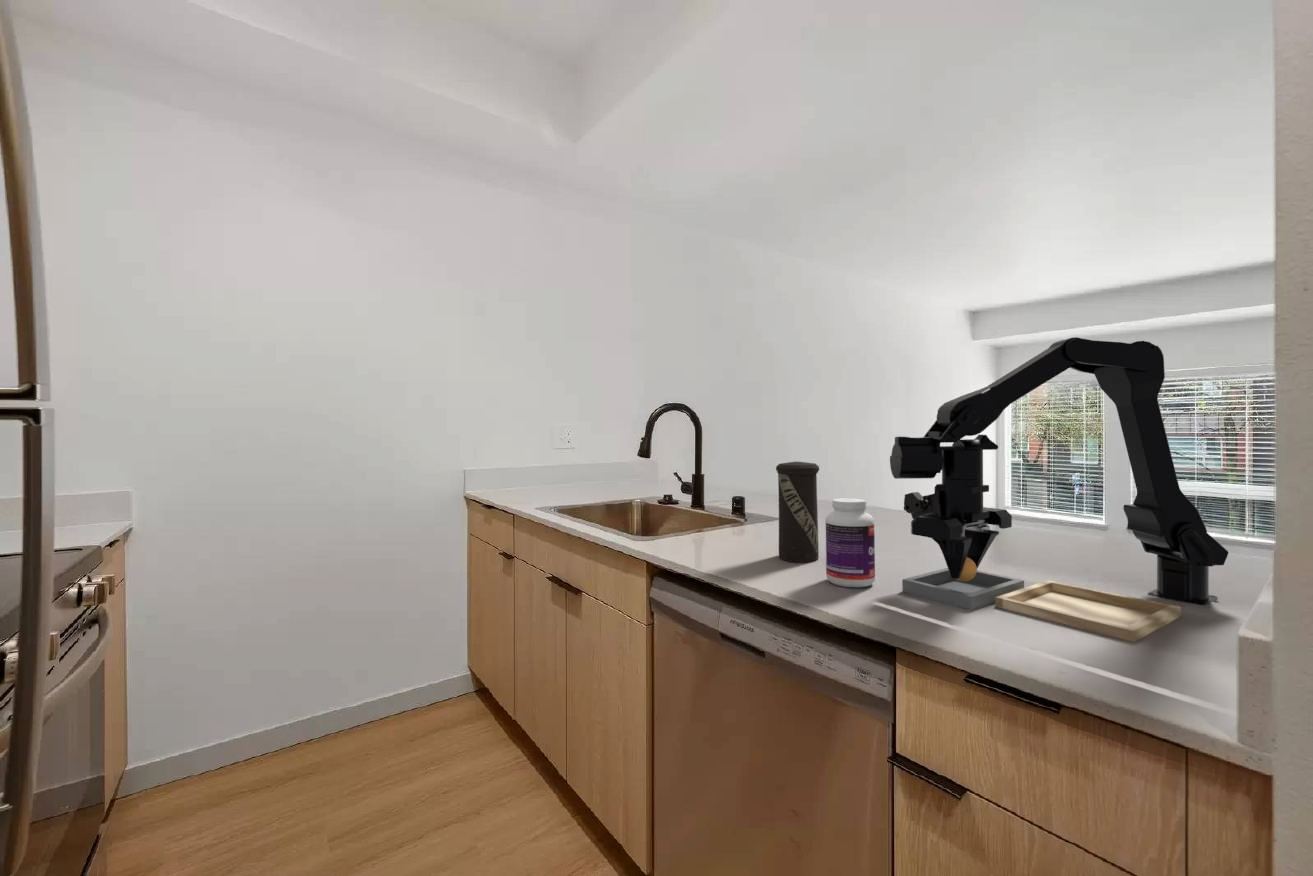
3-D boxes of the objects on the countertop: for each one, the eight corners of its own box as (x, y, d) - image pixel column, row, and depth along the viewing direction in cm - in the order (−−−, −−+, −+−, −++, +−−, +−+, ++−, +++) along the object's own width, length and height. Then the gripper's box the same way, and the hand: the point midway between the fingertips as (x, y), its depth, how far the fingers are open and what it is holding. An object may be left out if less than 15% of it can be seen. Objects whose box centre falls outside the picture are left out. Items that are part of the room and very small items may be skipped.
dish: (1048, 591, 88) (1048, 580, 88) (1180, 620, 75) (1180, 606, 75) (995, 609, 80) (995, 597, 80) (1133, 645, 66) (1133, 631, 66)
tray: (955, 579, 96) (955, 565, 96) (1024, 595, 86) (1024, 580, 86) (902, 594, 88) (902, 579, 88) (971, 613, 79) (971, 596, 79)
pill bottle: (879, 590, 90) (878, 503, 90) (828, 588, 92) (827, 502, 92) (870, 577, 98) (869, 497, 98) (823, 575, 100) (823, 496, 99)
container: (778, 562, 110) (777, 463, 109) (775, 552, 119) (774, 460, 118) (822, 563, 108) (821, 462, 108) (817, 553, 117) (816, 460, 117)
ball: (982, 581, 87) (982, 556, 86) (968, 586, 84) (967, 560, 84) (957, 576, 90) (957, 552, 90) (943, 580, 88) (942, 555, 88)
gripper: (946, 472, 99) (947, 558, 99) (880, 478, 89) (881, 574, 89) (1013, 476, 89) (1013, 571, 89) (947, 483, 79) (948, 590, 80)
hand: (962, 576), depth 87 cm, fingers closed on ball, 4 cm apart
